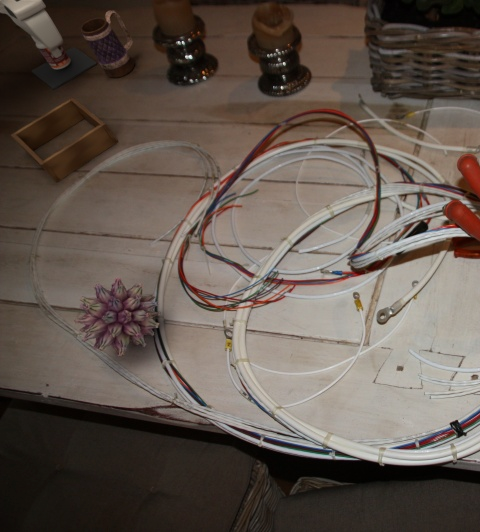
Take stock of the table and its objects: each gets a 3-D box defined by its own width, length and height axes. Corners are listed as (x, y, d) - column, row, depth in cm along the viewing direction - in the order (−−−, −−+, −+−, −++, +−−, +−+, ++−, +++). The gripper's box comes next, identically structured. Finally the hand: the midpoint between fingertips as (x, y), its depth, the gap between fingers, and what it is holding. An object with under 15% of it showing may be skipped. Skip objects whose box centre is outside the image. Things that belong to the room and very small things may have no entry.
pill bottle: (63, 71, 131) (40, 40, 124) (47, 68, 133) (24, 37, 126) (75, 59, 134) (53, 27, 127) (60, 56, 135) (38, 25, 128)
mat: (53, 90, 129) (52, 88, 129) (32, 72, 135) (31, 70, 134) (97, 64, 134) (96, 62, 133) (74, 47, 139) (74, 46, 139)
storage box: (57, 182, 111) (41, 165, 107) (26, 152, 117) (10, 134, 113) (118, 141, 116) (105, 123, 112) (85, 115, 122) (72, 97, 118)
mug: (118, 81, 128) (89, 35, 119) (100, 73, 131) (70, 28, 121) (150, 57, 133) (125, 11, 123) (132, 50, 135) (105, 4, 126)
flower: (132, 305, 93) (188, 303, 89) (98, 368, 86) (157, 369, 82) (83, 264, 85) (142, 260, 81) (40, 331, 78) (103, 330, 74)
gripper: (-20, -12, 122) (22, 43, 134) (18, 16, 113) (59, 73, 125) (6, -25, 125) (45, 30, 136) (45, 2, 115) (83, 59, 127)
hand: (52, 51), depth 130 cm, fingers closed on pill bottle, 5 cm apart
